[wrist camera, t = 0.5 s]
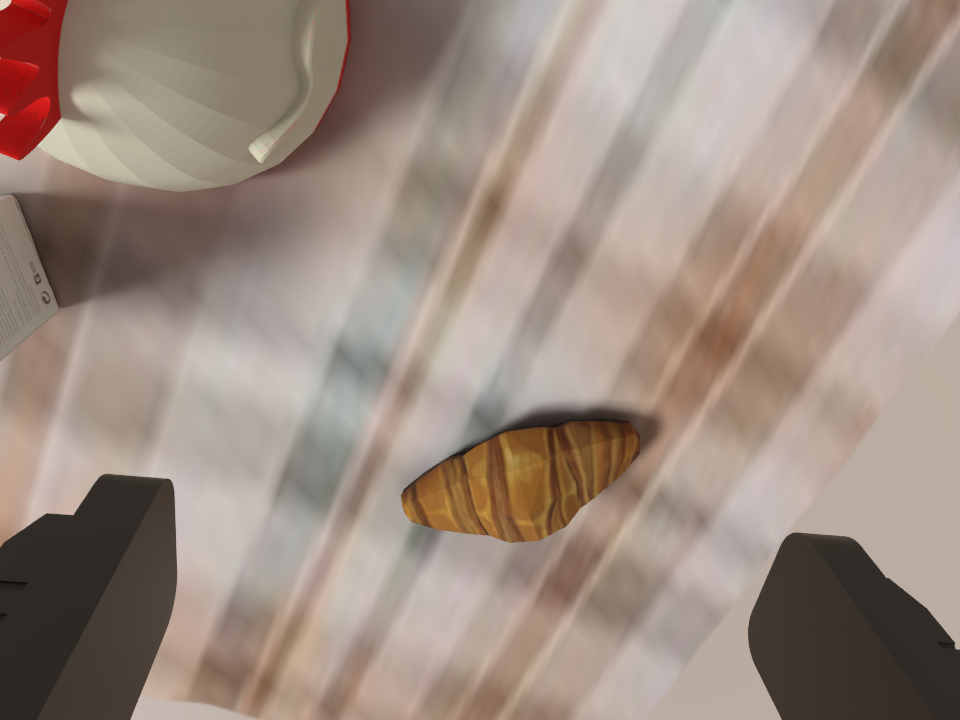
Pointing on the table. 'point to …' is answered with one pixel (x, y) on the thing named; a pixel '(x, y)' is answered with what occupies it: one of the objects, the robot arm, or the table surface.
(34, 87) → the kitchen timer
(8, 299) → the skincare box
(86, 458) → the table surface
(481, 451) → the croissant
